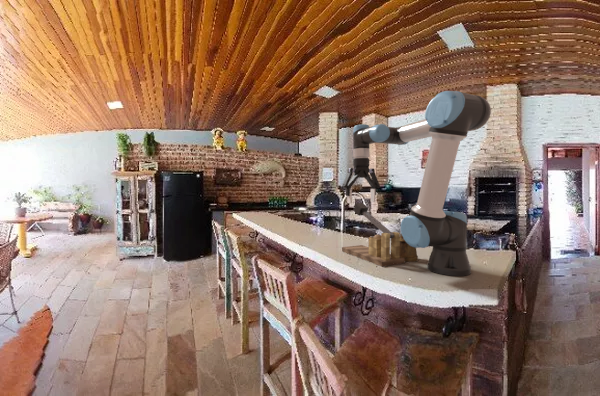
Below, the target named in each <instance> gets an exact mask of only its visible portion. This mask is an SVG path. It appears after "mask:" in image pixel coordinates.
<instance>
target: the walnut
mask: <svg viewBox="0 0 600 396" xmlns="http://www.w3.org/2000/svg"><path fill="white" fill-rule="evenodd" d="M373 237H374V238H373V239H381V234H374V236H373Z"/></svg>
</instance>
